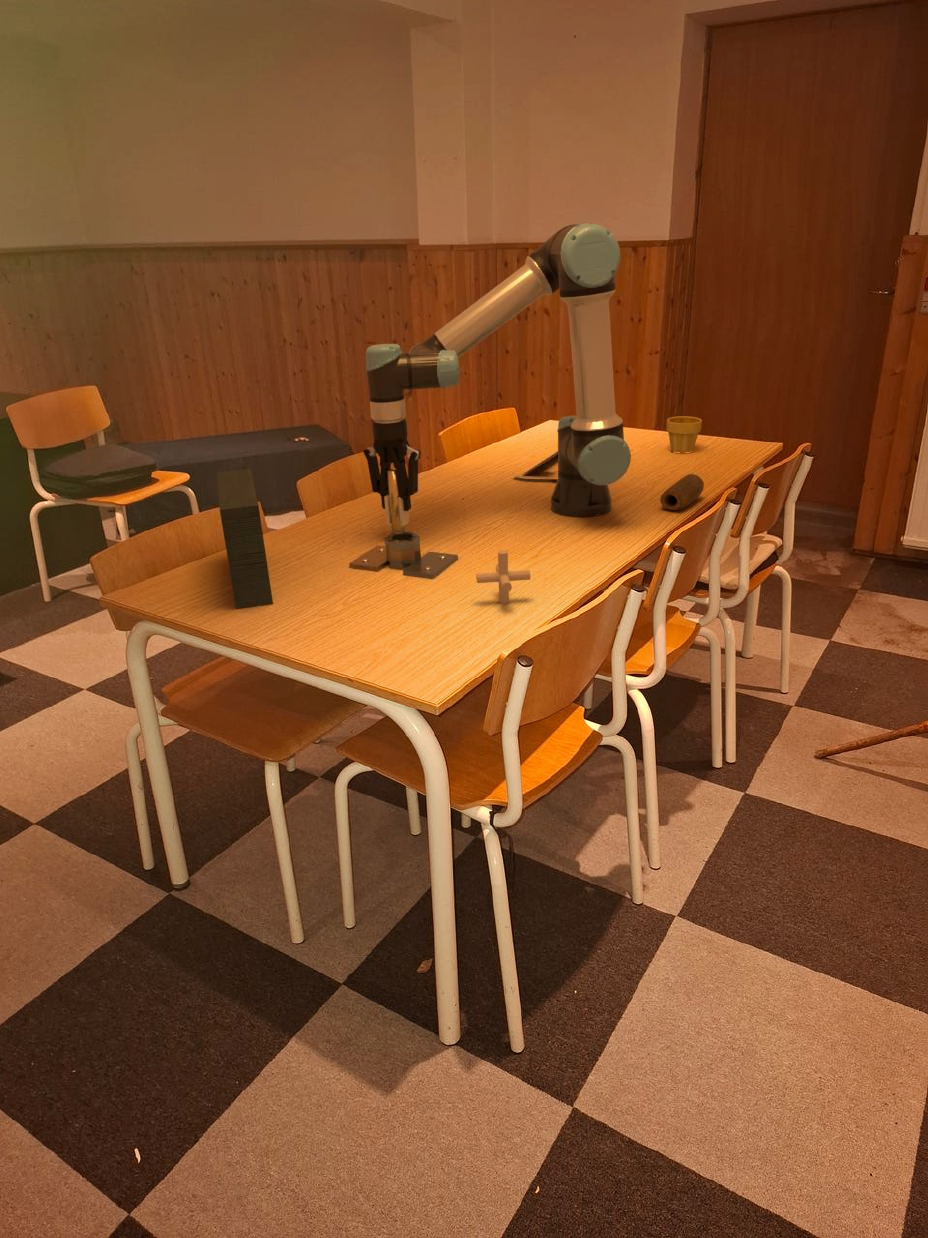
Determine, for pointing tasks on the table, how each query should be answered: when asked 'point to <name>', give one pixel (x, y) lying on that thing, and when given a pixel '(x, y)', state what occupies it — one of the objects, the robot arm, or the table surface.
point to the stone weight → (682, 492)
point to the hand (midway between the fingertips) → (397, 523)
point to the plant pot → (683, 432)
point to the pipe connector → (503, 576)
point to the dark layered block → (244, 539)
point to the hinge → (404, 557)
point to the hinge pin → (394, 500)
